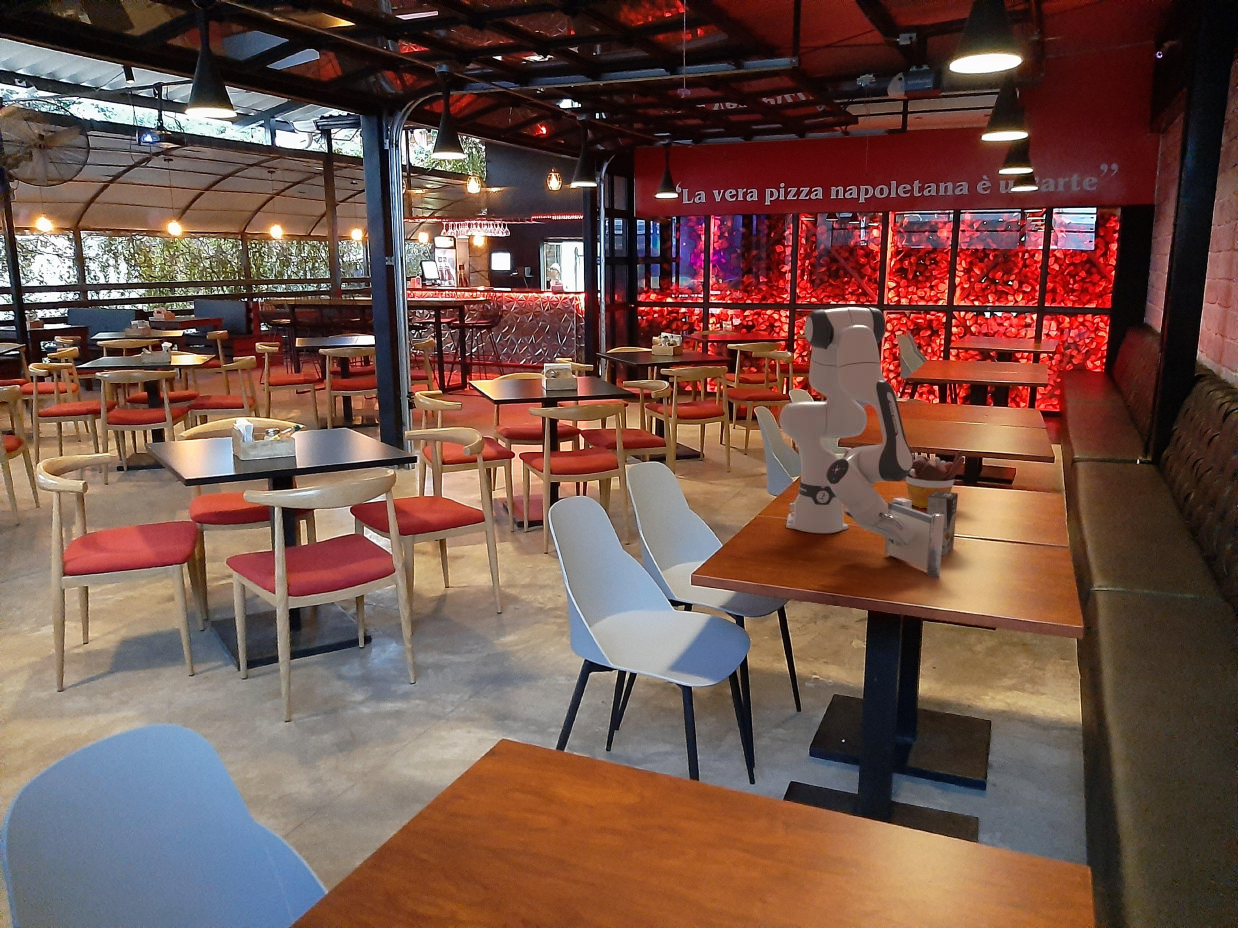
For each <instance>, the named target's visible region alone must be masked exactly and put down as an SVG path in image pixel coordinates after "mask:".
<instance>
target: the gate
mask: <svg viewBox="0 0 1238 928" xmlns="http://www.w3.org/2000/svg"><path fill="white" fill-rule="evenodd" d="M887 505H888V510H887V513H888V514H891V515H893V516H896V517H898V518H900V519H901V520H902V521H903V522H904V523H905V524H906V525H907V526H908V527H909V528H910V529H911V530H912V531H913V533H914V534H915V537H914V538H913V540H912V541H911V542H910V543H909V544H908V545H904V544H902V545H901V546H900V547H899V546H896V545H895V544H891V543H890V542H889V541H888V540H887V539H886V538H885V544H884V546H885V547H884V554H885V553H886V554H888V555H889V554H890V555H892V556H894V557H893V558H895V557H897V558H899V559H898V560H902V561H904V562H907V563H909V564H910V565H913V566H916V567H918V568H921V569H923V570H925V571H927V570H928V557H929V544H930V532H931V519H932V516H931V515H928V514H927V513H925V512H923V511H919V510H917V509H913V508H912V507H911V508H908V507H905V506H902V505H899V504H896V503H893V501H892V502H888V503H887ZM890 555H889V556H890ZM892 556H891V557H892ZM897 558H896V559H897Z"/></svg>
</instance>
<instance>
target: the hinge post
mask: <svg viewBox="0 0 1238 928" xmlns="http://www.w3.org/2000/svg"><path fill="white" fill-rule="evenodd" d="M943 526H944V515H943V514H936V513H935V514H932V519H931V532H930V544H929V557H928V570H926V575H927V577H930V578H940V577H941V575H940V574H941V573H940V572H941V563H942V555H941V551H942V539H943Z"/></svg>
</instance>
